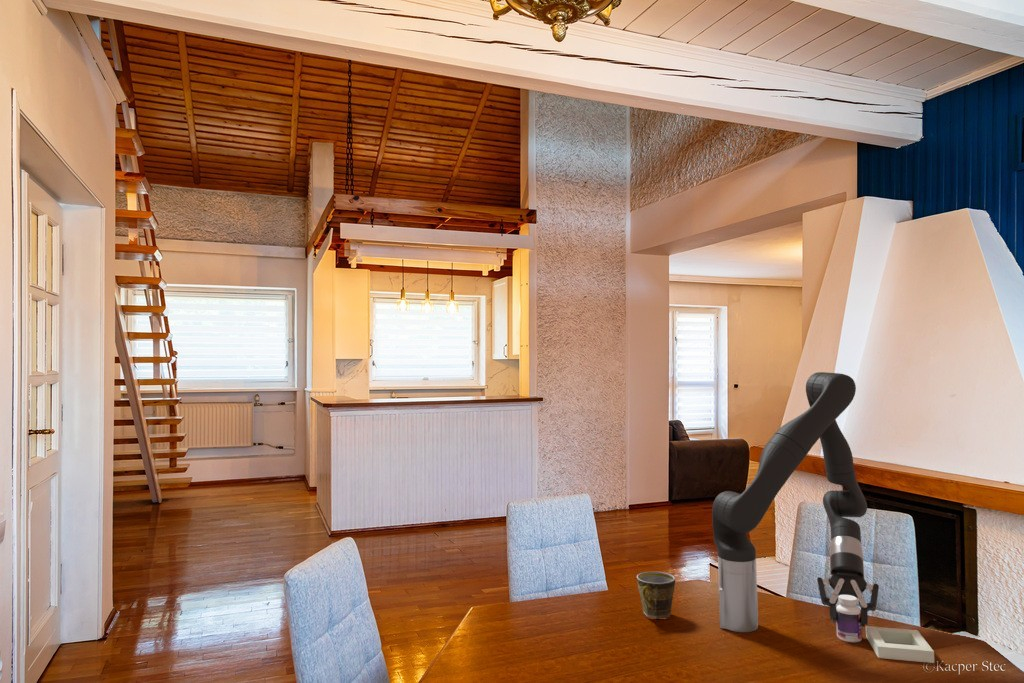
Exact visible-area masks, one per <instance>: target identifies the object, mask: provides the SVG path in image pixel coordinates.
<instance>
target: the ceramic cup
mask: <svg viewBox="0 0 1024 683" xmlns="http://www.w3.org/2000/svg"><path fill="white" fill-rule="evenodd" d="M636 581H637V587H638V588H637V589H638V592H639V596H640V602H641V607H642V611H643V615H644V614H645V615H646V616H647V617H651V618H656V619H660V618H667V617H668V618H670V616H671V612H672V605H673V598H674V594H675V586H676V577H675V576H674V575H672V574H670V573H668V572H664V571H663V572H662V571H645V572H640V573H638V574H637V575H636ZM645 615H644V616H645ZM646 616H645V617H646ZM647 617H646V618H647ZM668 618H667V619H668Z"/></svg>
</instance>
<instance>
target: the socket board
mask: <svg viewBox="0 0 1024 683" xmlns="http://www.w3.org/2000/svg"><path fill="white" fill-rule="evenodd" d="M865 637H866V638H867V640H868V642H869V644H870V646H871V648H872V649H873V651H874V653H875V654H876V656H877V658H878V659H886V660H887V659H888V660H896V661H897V660H898V661H908V662H920V663H930V664H935V651H934V649H932V647H931V646H930V645H929V643H928V641H926V639H925V638H924V637H923V635H922V634H921V633H920V632H919V630H918V629H909V628H908V629H906V628H905V629H904V628H896V627H895V628H893V627H881V626H871V625H870V626H868V625H865Z"/></svg>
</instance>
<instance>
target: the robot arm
mask: <svg viewBox="0 0 1024 683" xmlns="http://www.w3.org/2000/svg"><path fill="white" fill-rule="evenodd" d="M856 390H857V387H856V382H855V380H854V379H853V378H852V377H851V376H849V375H848V374H845V373H840V372H826V371H825V372H823V371H818V372H814V373H813V374H811V375H810V376H809V377H808V378H807V381H806V384H805V394H806V397H807V398H806V399H807V401H808V406H809V408H808V409H807V410H806V411H804V412H803V413H801V414H800V415H798V416H796V417H795V418H792V419H791V420H790V421H788V422H786V423H785V424H784V425H782V426H780V428H778V429H777V430H776V431H775V433H774V434H773V435H772V436H771V438H770V439H769V440H768V441H767V442H766V444H765V445H764V447H763V449H762V451H761V453H760V458H759V463H758V468H757V472H756V475H755V477H754V478H753V480H752V481H751V482H750V484H749V485H748V486H747V487H746V489H744V490H743V492H742V493H738V492H735V491H731V490H725V491H723V492H720V493H719V494H718V495H717V496H716V497H715V499H714V501H713V503H712V510H711V515H712V516H711V517H712V530H713V531H712V532H713V533H712V534H713V541H714V545H715V547H716V550H717V567H718V568H717V569H718V570H717V571H718V572H717V573H718V606H719V610H718V611H719V612H718V614H719V629H726V630H728V631H731V632H736V633H751V632H754V631H757V630H758V628H759V611H758V609H759V608H758V581H757V580H758V577H757V552H756V551H757V549H756V547H755V545H754V544H753V542H751V540H750V539H749V536H748V534H747V533H750V532H753V530H755V529H756V528H757V527H758V525H759V524H760V523H761V521H762V520H763V519H764V517H765V514H767V511H768V509H769V508H770V507H771V504H772V503H773V501H774V499H775V498H776V496H777V495H778V493H779V492H780V491H781V489H782V488H783V487H784V485H785V484H786V482H787V481H788V479H789V478H790V477H791V476H792V474H793V473H794V472H795V471H796V469H797V468H799V466H800V465H801V463H802V462H803V460H804V459H805V458H806V457H807V455H808V454H809V452H810V451H811V449H812V448H813V446H815V444H816V443H817V442H818V440H819V439H820V440H819V441H820V443H821V448H822V449H821V450H822V455H823V462H824V469H825V475H826V480H827V481H828V482H829V483H831V484H835V485H838V486H842V487H845V488H846V489H847V490H828V491H827V492H825V493H824V495H823V497H822V505H823V508H824V511H825V513H826V516H827V519H828V521H829V527H830V545H829V546H830V548H829V560H830V562H829V563H830V564H829V565H830V566H829V569H830V574H829V577H828V578H826V579H825V578H822V577H817V578H816V581H817V582H816V583H817V587H818V591H819V595H820V596H819V597H820V600H821V604H822V605H824V606H828V607H829V619H830V620H831V621H832V623H834V624H836V606H837V605H838V603H839V595H851V596H854V597H856V598H857V605H858V607H859V608H860V610H861V626H862V628H863V627H864V628H866V626H868V624H869V617H868V615H869V614H868V613H869V612H875V611H876V609H877V604H878V599H879V593H880V591H879V590H880V586H879V584H878V583H874V584H870V583H867V581H866V580H865V569H864V568H865V566H864V551H863V547H862V536H861V535H862V533H861V531H862V530H861V527H860V524H859V523H858V522H856V521H855V520H854V519H850V518H862V517H864V516H865V515H866V513H867V511H868V503H867V500H866V498H865V495H864V494H863V491H862V489H861V488H860V487H861V486H859V483H858V480H857V477H856V470H855V464H854V458H853V453H852V450H851V447H850V444H849V442H848V441H847V439H846V437H845V435H844V434H843V432H842V431H841V428H840V427H839V425H838V424H839V423H838V422H837V418H839V416H840V415H841V414H842V413H843V412H844V411H845V410H846V409H847V408H848V407H849V406H850V405H851V403H852V402H853V400H854V398H855V395H856V392H857V391H856ZM828 585H829V586H830V587H831V588H832V590H833V592H832V595H831V597H830V598H829V597H827V593H826V589H827V588H828ZM865 590H868V593H869V594H870V601H869V602H866V599H865V597H864V595H863V593H864V592H865Z"/></svg>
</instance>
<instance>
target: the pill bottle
mask: <svg viewBox="0 0 1024 683" xmlns="http://www.w3.org/2000/svg"><path fill="white" fill-rule="evenodd" d="M835 624H836V637H837V638H838V639H839V640H841V641H844V642H847V643H848V642H849V643H859V642H862V640H863V633H862V632H863V631H862V630H863V629H862V628H863V627H862V626H861V608H860V606H858V603H857V598H856V597H854V596H851V595H839V601H838V603H837V604H836V623H835Z"/></svg>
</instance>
